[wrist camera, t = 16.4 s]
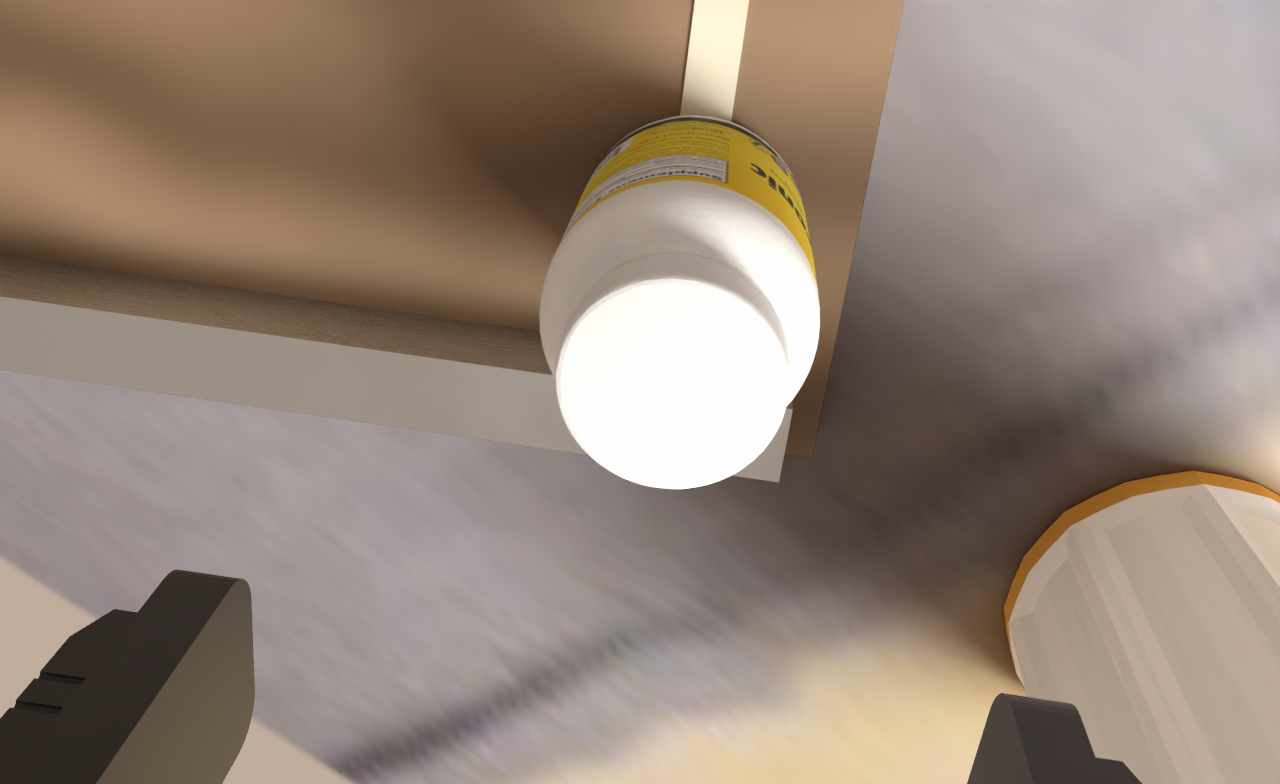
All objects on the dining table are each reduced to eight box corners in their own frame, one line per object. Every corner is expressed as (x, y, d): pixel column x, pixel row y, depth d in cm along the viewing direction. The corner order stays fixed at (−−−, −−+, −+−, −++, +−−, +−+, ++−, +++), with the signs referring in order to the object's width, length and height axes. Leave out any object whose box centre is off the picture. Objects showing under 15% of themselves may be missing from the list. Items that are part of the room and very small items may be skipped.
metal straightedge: (-197, 227, 31) (-271, 257, 29) (790, 366, 30) (792, 409, 28) (-182, 298, 32) (-254, 333, 30) (777, 435, 31) (779, 482, 29)
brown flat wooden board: (-286, -272, 28) (-343, -279, 26) (919, -118, 27) (928, -116, 25) (-176, 291, 34) (-217, 311, 32) (809, 432, 33) (812, 459, 31)
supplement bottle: (817, 311, 29) (844, 514, 21) (603, 336, 30) (541, 542, 21) (794, 92, 27) (813, 215, 18) (564, 125, 28) (476, 259, 19)
